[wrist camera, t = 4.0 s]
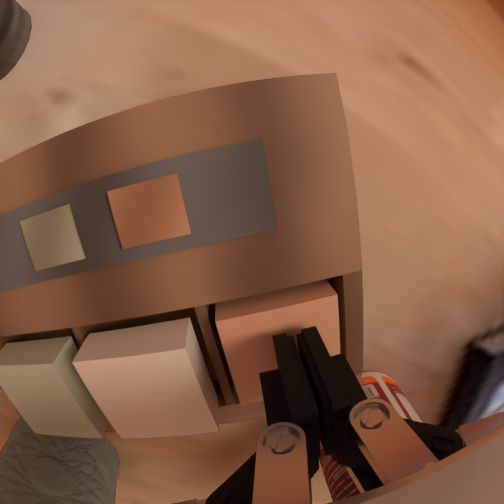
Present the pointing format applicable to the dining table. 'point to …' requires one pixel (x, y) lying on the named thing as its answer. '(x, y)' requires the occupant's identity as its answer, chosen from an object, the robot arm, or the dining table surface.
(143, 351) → the key cream
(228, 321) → the key terracotta
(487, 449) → the robot arm
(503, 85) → the dining table surface
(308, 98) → the keypad board
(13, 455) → the grey green cup
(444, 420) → the dining table surface
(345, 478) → the pill bottle
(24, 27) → the beverage cup
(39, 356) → the key sage
